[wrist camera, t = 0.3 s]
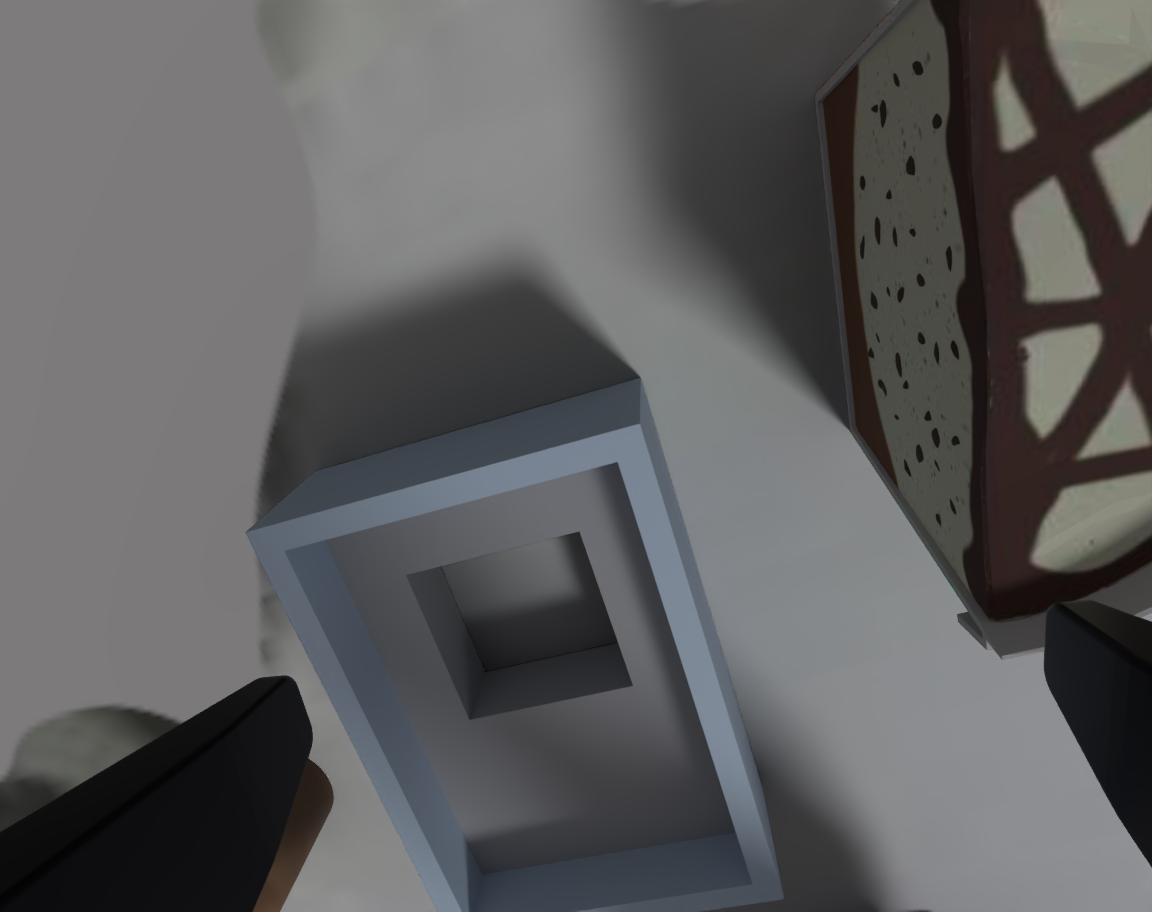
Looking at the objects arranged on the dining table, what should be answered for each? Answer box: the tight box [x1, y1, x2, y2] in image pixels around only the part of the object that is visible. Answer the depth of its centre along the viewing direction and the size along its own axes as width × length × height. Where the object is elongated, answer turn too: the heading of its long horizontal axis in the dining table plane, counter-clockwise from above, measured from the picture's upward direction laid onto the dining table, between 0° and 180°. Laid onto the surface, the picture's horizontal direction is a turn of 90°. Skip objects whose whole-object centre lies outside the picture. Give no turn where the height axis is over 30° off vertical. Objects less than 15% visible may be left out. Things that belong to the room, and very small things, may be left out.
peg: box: [253, 759, 334, 912], centre depth 25 cm, size 4×4×9 cm
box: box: [246, 378, 784, 912], centre depth 23 cm, size 16×11×4 cm
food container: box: [815, 0, 1152, 660], centre depth 15 cm, size 12×6×10 cm, turn 13°
